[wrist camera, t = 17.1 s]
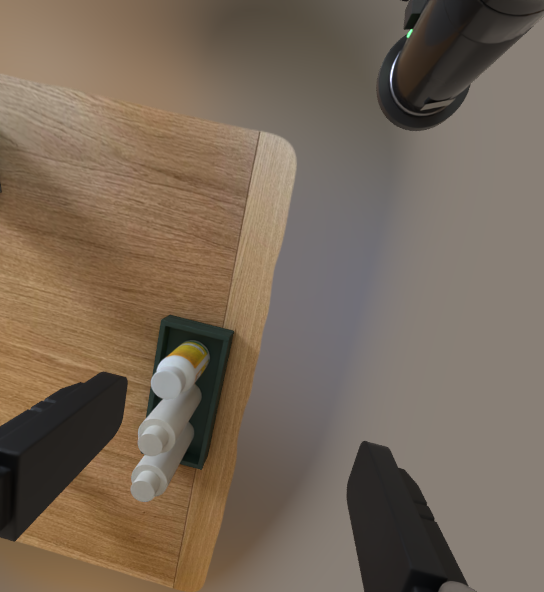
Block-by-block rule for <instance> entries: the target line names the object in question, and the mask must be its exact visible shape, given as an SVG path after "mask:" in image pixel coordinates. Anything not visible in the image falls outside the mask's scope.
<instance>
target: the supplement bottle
mask: <svg viewBox="0 0 544 592" xmlns="http://www.w3.org/2000/svg"><path fill="white" fill-rule="evenodd" d="M209 361H210V355H209V351H208V349H207V348H206V347H205V346H204V345H203V344H202V343H200V342H198V341H194V340H190V341H186V342H184V343H182V344H181V345H180V346H179V347H177V348H176V349H175V350H174V351H173V352H172V353H170V354H169V355H168V356H167V357H166V358H165V359H163V360H162V361H161V362H160V364H159V365H158V368H157V372H156V373H155V374H154V375H153V377H152V380H151V387H152V390H153V391H154V393H155V394H156V395H157V396H158V397H160V398H162V399H174V398H176V397H177V396H178V395H179V394H180V393H184V392H186V391H188V390H189V389H190V388H191V387H192V386H193V385H194V383H195V382H196V381H197V379H198V378H199V377H200V375H201V374H202V373H203V371H204V370H205V369H206V367H207V366H208V364H209Z"/></svg>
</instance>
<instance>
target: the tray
mask: <svg viewBox="0 0 544 592" xmlns="http://www.w3.org/2000/svg"><path fill="white" fill-rule="evenodd" d="M233 334H234V331H232V330H228V329H224V328H220V327H216V326H212V325H208V324H204V323H200V322H197V321H193V320H189V319H185V318H181V317H177V316H173V315H169V316H167V317H165V318H164V319H162V320H161V325H160V330H159V337H158V343H157V350H156V356H155V363H154V369H153V375H154V374H155V373H156V372H157V368H158V365H159V364H160V362H161V361H162V360H163V359H165V358H166V357H167V356H168V355H169V354H170V353H172V352H173V351H174V350H175V349H176V348H177V347H179V346H180V345H181V344H182V343H184V342H186V341H190V340H194V341H198V342H200V343H202V344H203V345H204V346H205V347H206V348H207V349H208V351H209V355H210V361H209V364H208V366H207V367H206V369H205V370H204V371H203V373H202V374H201V375H200V377H199V378H198V379H197V381H196V382H195V383H194V384H196V385H197V386H198V387H199V389H200V391H201V395H202V398H201V401H200V403H199V405H198V406H197V408H196V410H195V411H194V413H193V415H192V416H191V418H190V420H189V421H188V422H189V423H190V424H191V425H192V426H193V428H194V437H193V439H192V441H191V443H190V445H189V447H188V449H187V451H186V453H185V454H184V456H183V458H182V460H181V462H180V464H182V465H186V466H189V467H193V468H197V469H200V470H202V468H203V466H204V463H205V461H206V459H207V456H208V452H209V447H210V442H211V437H212V433H213V428H214V423H215V419H216V414H217V409H218V405H219V400H220V395H221V391H222V386H223V381H224V376H225V372H226V367H227V362H228V358H229V353H230V348H231V344H232V339H233ZM152 377H153V376H152ZM161 401H162V398H160V397H158V396H157V395H156V394H155V393H154V391H153V390H152V387H151V389H150V395H149V402H148V408H147V414H146V418H147V417H148V416H149V415H150V413H151V412H152V411H153V410H154V409H155V408H156V406H157V405H158V404H159V403H160V402H161ZM141 453H142V452H141ZM142 454H143V453H142Z"/></svg>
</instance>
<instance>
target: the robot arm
mask: <svg viewBox="0 0 544 592" xmlns="http://www.w3.org/2000/svg"><path fill="white" fill-rule="evenodd" d="M402 1H408V0H402ZM543 17H544V0H410V1H409V3H408V5H407V7H406V10H405V20H404V30H405V29H411V30H410V32H409V34H408V35H407V38H406V40H405V42H404V46H403V48H402V49H401V51H400V52H399V54H398V55H397V57H396V59H395V61H394V63H393V65H392V67H391V70H390V74H389V83H388V84H389V92H390V96H391V98H392V101H393V102H394V104H395V105H396V107H397V108H398V109H399V110H400V111H402V112H403V113H405V114H407V115H409V116H412V117H420V118H421V117H428V116H432V115H435V114H437V113H439V112H440V111H442V110H443V109H445V108H446V107H447V106H448V105H449V104H450V103H452V102H453V101H454V100H455V98H456V97H457V96H458V95H459V94H460V93H461V92H462V91H463V90H465V89H466V88H467V87H468V86H469V85H470V84H471V83H472V82H473V81H474V80H475V79H476V78H478V77H479V76H480V75H481V74H482V73H483V72H484V71H485V70H486V69H487V68H488V67H490V65H491V64H493V63H494V62H495V61H496V60H497V59H498V58H499V57H500V56H501V55H503V54H504V53H505V52H506V51H507V50H508V49H509V48H510V47H511V46H512V45H513V44H515V43H516V42H517V41H518V40H519V39H520V38H521V37H522V36H523V35H524V34H526V33H527V32H528V31H529V30H530V29H531V28H532V27H533V26H534V25H535V24H536V23H537V22H538V21H539V20H541V19H542V18H543ZM127 384H128V381H127V378H126V377H123V376H119V375H115V374H112V373H108V372H101V373H99V374H97V375H96V376H94V377H93V378H91V379H90V380H88V381H87V382H85V383H82V382H80V383H77V384H74V385H71V386H68V387H65V388H62V389H60V390H59V391H57V392H55V393H54V394H52V395H50V396H49V397H47V398H46V399H45V400H44V401H41V402H39V403H37V404H36V405H34V406H33V407H31V409H30V410H26V411H24V412H23V413H21V414H20V415H18V416H16V417H15V418H13V419H12V420H10V421H8V422H7V423H5V424H3V425H2V426H0V537H1V538H4V539H8V540H11V541H16V540H17V539H18V538H19V537H20V535H21V534H22V533H23V532H24V531H25V530H26V529H27V528H28V527H29V526H30V525H31V524H32V523H33V522H34V521H35V520H36V519H37V517H38V516H39V515H40V514H41V513H42V512H43V511H44V510H45V509H46V508H47V507H48V506H49V505H50V504H51V503H52V502H53V501H54V500H55V498H56V497H57V496H58V495H59V494H60V493H61V492H62V491H63V490H64V489H65V488H66V487H67V486H68V485H69V484H70V483H71V482H72V481H73V479H74V478H75V477H76V476H77V475H78V474H79V473H80V472H81V471H82V470H83V469H84V468H85V467H86V466H87V465H88V464H89V463H90V461H91V460H92V459H93V458H94V457H95V456H96V455H97V454H98V453H99V452H100V451H101V450H102V449H103V448H104V447H105V446H106V445H107V444H108V442H109V441H110V440H111V439H112V438H113V437H114V436H115V434H116V433H117V431H118V429H119V427H120V425H121V423H122V419H123V414H124V407H125V399H126V392H127ZM347 504H348V510H349V515H350V520H351V525H352V530H353V535H354V541H355V546H356V551H357V555H358V561H359V566H360V571H361V577H362V582H363V586H364V592H477V591H475V590H474V589H472V588H470V587H469V586H468V584H467V582H466V580H465V578H464V576H463V574H462V572H461V570H460V568H459V566H458V564H457V563H456V560H455V558H454V556H453V554H452V552H451V550H450V548H449V546H448V544H447V542H446V540H445V538H444V537H443V534H442V532H441V530H440V528H439V526H438V524H437V522H435V521H434V516H433V514H432V512H431V510H430V508H429V507H428V506H427V502H426V500H425V498H424V496H423V494H422V492H421V490H420V488H419V486H418V485H417V484H416V483H415V481H414V480H413V479H412V478H411V477H410V476H409V474H408V473H407V472H406V471H405V470H404V469H401V468H398V467H397V464H396V462H395V460H394V458H393V455H392V453H391V451H390V449H389V448H388V447H385V446H382V445H378V444H374V443H370V442H367V441H363V442H362V443H361V445H360V447H359V450H358V453H357V456H356V459H355V462H354V465H353V468H352V471H351V474H350V477H349V480H348V484H347Z"/></svg>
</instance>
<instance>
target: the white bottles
mask: <svg viewBox="0 0 544 592" xmlns="http://www.w3.org/2000/svg"><path fill="white" fill-rule="evenodd" d="M201 398H202V395H201V391H200V389H199V387H198V386H197V385H196V384H194V385H193V386H192V387H191V388H190V389H189V390H188V391H186V392H184V393H180V394H179V395H178V396H177V397H176V398H174V399H162V401H161V402H160V403H159V404H158V405H157V406H156V408H155V409H154V410H153V411H152V412H151V413H150V415H149V416H148V417H147V418H146V419H145V420H144V422H143V423H142V424H141V425H140V427H139V430H138V437H139V439H138V447H139V449H140V451H141V452H142V453H143V454H145V455H144V457H143V458H142V459H141V461H140V462H139V464H138V465H137V466H136V468H135V469H134V471H133V472H132V476H131V480H132V486H131V493H132V495H133V497H134V498H135V499H137V500H139V501H141V502H148V501H150V500H152V499H153V498H154V497H155V496H159V495H161V494H162V493H163V492H164V491H165V490H166V488H167V486H168V484H169V483H170V481H171V479H172V477H173V475H174V473H175V471H176V469H177V468H178V466H179V464H180V462H181V460H182V458H183V456H184V454H185V453H186V451H187V449H188V447H189V445H190V443H191V441H192V439H193V437H194V428H193V426H192V425H191V424H190V423H189V422H188V421H189V420H190V418H191V416H192V415H193V413H194V411H195V410H196V408H197V406H198V405H199V403H200V401H201Z"/></svg>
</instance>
